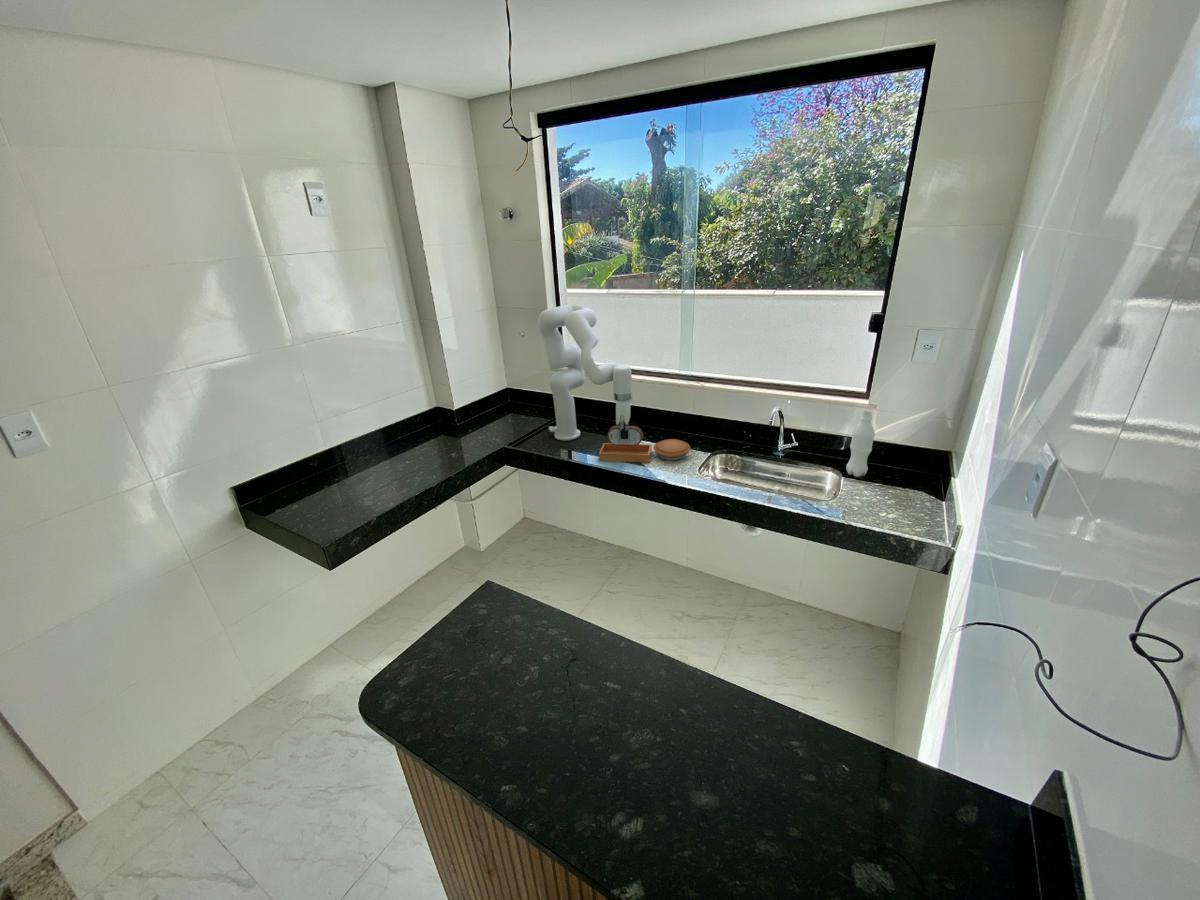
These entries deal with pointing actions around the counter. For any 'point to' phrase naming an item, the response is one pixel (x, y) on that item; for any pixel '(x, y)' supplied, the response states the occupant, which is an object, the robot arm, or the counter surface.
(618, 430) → the tin
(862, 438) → the water bottle
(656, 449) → the pie
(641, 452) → the brown wooden tray
